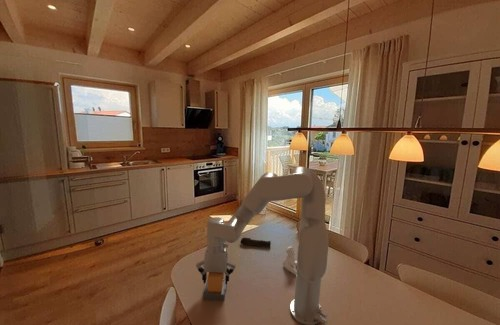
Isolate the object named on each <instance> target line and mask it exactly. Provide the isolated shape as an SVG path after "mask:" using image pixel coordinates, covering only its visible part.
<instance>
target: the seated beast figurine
mask: <svg viewBox="0 0 500 325" xmlns="http://www.w3.org/2000/svg"><path fill="white" fill-rule="evenodd" d="M285 252H286V254H287V255H286V256H285V258H284V260H283V261H282V265H283V268H284V269H285V270H287V271H288V272H289V273H290V272H291V273H292V274H293V275H294V276H296V272H297V260H295V255H296V254H295V250H294V248H293V246H292V245H289V246H288V247H286V251H285Z"/></svg>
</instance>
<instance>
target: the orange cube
mask: <svg viewBox="0 0 500 325" xmlns="http://www.w3.org/2000/svg"><path fill="white" fill-rule="evenodd" d="M224 278H225V273H224V272H208V274H207V280H208V291H215V292H222V288H223V283H224Z"/></svg>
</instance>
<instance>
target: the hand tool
mask: <svg viewBox="0 0 500 325" xmlns="http://www.w3.org/2000/svg"><path fill="white" fill-rule="evenodd" d="M271 242H272V241H271V240H263V239H262V240H261V239H260V240H259V239H252V238H251V237H242V238H241V239H240V244H241V245H243V246H247V247H249V246H253V247H254V246H255V247H256V246H257V247H262V248H263V247H264V248H268V249H271V245H272V244H271Z"/></svg>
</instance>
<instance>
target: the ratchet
mask: <svg viewBox="0 0 500 325" xmlns="http://www.w3.org/2000/svg"><path fill="white" fill-rule="evenodd" d="M227 288H228V283H227V284H225V279H224V283H223V288H222V292H215V291H208V279H206V283H205V288H204V291H203V294H202V295H203V301H218V302H219V301H222V302H223V301H225V299H226V294H227V293H226V292H227Z"/></svg>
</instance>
